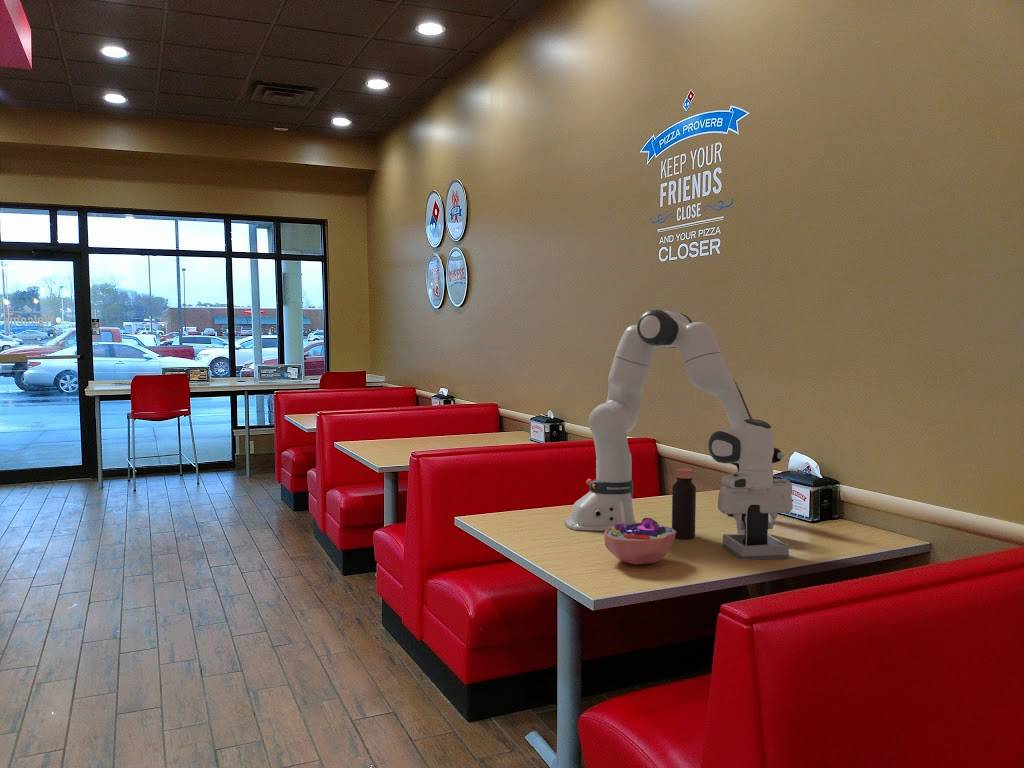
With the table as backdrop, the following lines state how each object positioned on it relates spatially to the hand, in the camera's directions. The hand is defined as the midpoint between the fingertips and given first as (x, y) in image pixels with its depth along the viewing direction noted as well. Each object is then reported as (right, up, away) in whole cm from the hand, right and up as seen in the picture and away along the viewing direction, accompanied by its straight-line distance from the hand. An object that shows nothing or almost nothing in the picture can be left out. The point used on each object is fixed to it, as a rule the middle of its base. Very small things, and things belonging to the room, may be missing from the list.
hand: (754, 528), depth 206 cm
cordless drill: (+12, -5, +37) cm, 39 cm away
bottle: (-16, -6, +17) cm, 24 cm away
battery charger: (0, -4, 0) cm, 4 cm away
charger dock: (0, -7, 0) cm, 7 cm away
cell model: (-33, -7, -8) cm, 35 cm away
